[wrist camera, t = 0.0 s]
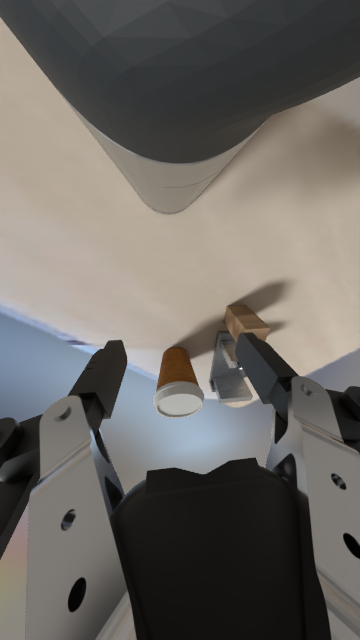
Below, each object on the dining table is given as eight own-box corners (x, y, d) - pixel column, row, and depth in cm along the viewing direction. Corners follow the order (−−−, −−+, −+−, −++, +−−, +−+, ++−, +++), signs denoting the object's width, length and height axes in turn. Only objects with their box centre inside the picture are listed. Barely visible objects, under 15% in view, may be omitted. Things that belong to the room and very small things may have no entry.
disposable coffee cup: (152, 345, 32) (145, 397, 22) (192, 339, 32) (205, 388, 22) (160, 370, 37) (158, 422, 27) (195, 365, 37) (206, 415, 27)
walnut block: (226, 306, 28) (245, 329, 21) (245, 305, 28) (270, 328, 22) (223, 322, 30) (240, 348, 24) (241, 321, 31) (262, 346, 24)
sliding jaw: (221, 340, 32) (234, 366, 26) (256, 338, 33) (276, 363, 26) (219, 347, 33) (231, 373, 27) (253, 344, 34) (272, 369, 28)
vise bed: (217, 331, 32) (229, 354, 26) (259, 329, 32) (279, 350, 27) (209, 381, 42) (215, 405, 36) (241, 379, 43) (252, 401, 37)
